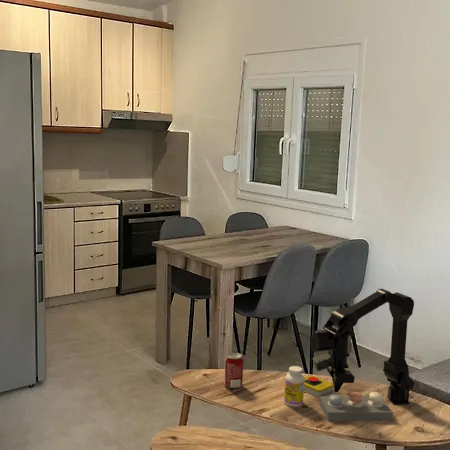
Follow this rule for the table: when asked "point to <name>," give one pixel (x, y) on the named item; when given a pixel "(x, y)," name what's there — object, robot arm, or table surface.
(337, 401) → the slate button
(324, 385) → the emergency button
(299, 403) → the supplement bottle
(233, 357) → the soda can
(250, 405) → the table surface
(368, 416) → the console
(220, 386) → the table surface
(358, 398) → the terracotta button
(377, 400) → the cream button
